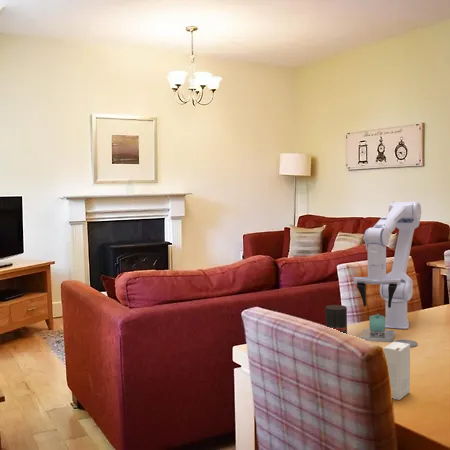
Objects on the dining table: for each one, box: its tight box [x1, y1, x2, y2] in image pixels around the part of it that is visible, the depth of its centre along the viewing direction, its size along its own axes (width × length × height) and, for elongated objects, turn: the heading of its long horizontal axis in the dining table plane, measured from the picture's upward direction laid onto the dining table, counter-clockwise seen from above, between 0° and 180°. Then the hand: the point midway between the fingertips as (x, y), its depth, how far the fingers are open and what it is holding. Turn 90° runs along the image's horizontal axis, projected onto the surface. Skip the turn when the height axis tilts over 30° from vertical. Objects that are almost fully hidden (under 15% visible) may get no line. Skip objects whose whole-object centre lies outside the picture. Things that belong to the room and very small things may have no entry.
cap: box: [368, 313, 386, 331], centre depth 178 cm, size 5×5×5 cm
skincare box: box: [383, 341, 411, 401], centre depth 130 cm, size 6×4×12 cm
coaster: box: [393, 339, 419, 348], centre depth 169 cm, size 7×7×1 cm
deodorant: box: [325, 304, 348, 335], centre depth 158 cm, size 6×6×15 cm
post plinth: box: [359, 328, 395, 343], centre depth 178 cm, size 10×10×2 cm
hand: (377, 306), depth 177 cm, fingers open, 7 cm apart
